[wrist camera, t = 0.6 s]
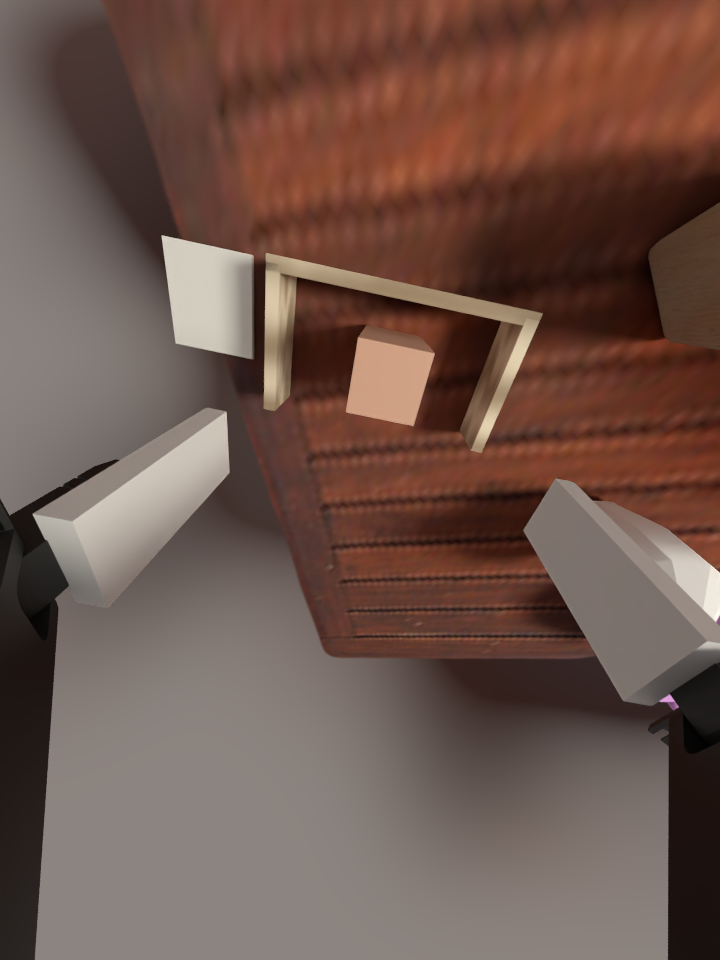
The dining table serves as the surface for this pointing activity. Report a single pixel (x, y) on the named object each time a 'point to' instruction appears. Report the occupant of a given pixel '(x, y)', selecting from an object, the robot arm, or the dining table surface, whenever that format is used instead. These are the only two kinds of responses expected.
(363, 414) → the terracotta block
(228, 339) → the white tile
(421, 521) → the dining table surface
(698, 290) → the wooden block
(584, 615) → the robot arm
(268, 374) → the frame
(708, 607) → the vase
